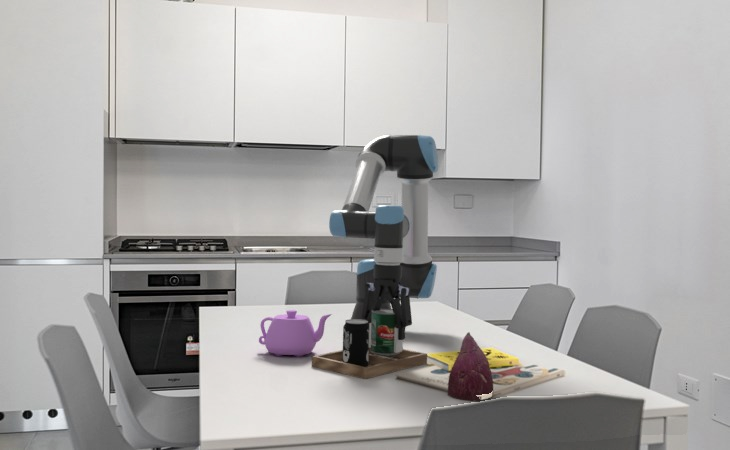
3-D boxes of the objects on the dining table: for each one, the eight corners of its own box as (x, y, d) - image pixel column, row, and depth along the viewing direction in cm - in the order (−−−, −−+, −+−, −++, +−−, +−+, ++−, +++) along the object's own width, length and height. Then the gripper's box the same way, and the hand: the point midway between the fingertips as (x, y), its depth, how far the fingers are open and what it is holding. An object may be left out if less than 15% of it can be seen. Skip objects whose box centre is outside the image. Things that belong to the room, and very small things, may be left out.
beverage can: (365, 372, 177) (366, 323, 176) (339, 370, 178) (340, 322, 177) (370, 366, 183) (371, 319, 183) (345, 364, 184) (346, 318, 184)
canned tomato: (384, 347, 195) (386, 307, 195) (406, 352, 189) (407, 311, 189) (364, 351, 190) (365, 310, 189) (385, 356, 184) (386, 314, 184)
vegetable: (445, 403, 163) (436, 337, 166) (489, 397, 163) (479, 331, 167) (453, 404, 152) (443, 334, 155) (500, 398, 153) (489, 328, 156)
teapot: (253, 357, 190) (254, 312, 190) (263, 346, 203) (264, 305, 203) (328, 360, 189) (329, 315, 188) (333, 349, 202) (334, 308, 202)
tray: (311, 366, 181) (311, 356, 181) (374, 352, 200) (374, 343, 200) (365, 378, 170) (365, 368, 170) (426, 363, 189) (427, 353, 189)
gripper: (349, 261, 193) (346, 345, 193) (410, 267, 179) (408, 357, 180) (367, 260, 198) (364, 341, 199) (428, 266, 185) (425, 353, 186)
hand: (385, 349), depth 189 cm, fingers closed on canned tomato, 8 cm apart
